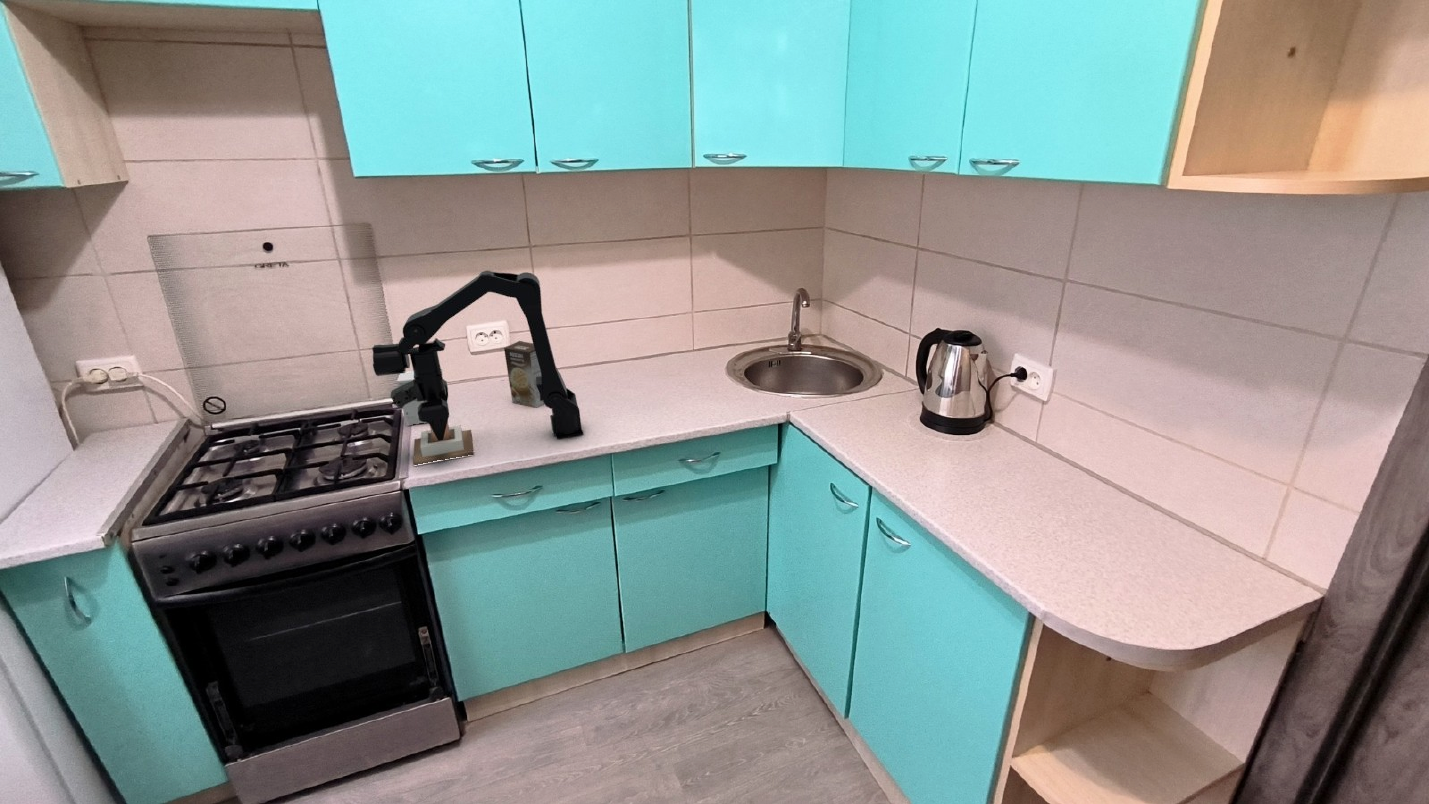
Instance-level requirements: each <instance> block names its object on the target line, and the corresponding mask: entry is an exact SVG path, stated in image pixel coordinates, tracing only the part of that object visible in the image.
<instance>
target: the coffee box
mask: <svg viewBox="0 0 1429 804" xmlns="http://www.w3.org/2000/svg"><path fill="white" fill-rule="evenodd" d="M503 350H504V357H505V362H506V369H507V376H508V382H509V389H510V394H511V402H512V403H515V404H519V405H523V406H527V407H532V408H539V407H541V406H543V405H545V404H544V402H543V400H542V401H540V393H539V391H538V389H537V386H536V377H539V376H541V371H540V367H539V363H538V359H537V356H536V352H535V348H534V344H533V342H527V341H522V340H519V341H516V342H514V343H510V344H509V345H507V346H505V347H503Z"/></svg>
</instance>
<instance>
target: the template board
mask: <svg viewBox="0 0 1429 804" xmlns="http://www.w3.org/2000/svg"><path fill="white" fill-rule="evenodd" d="M449 430H450V435H451V440H445V441H440V442H434V443H433V439H432V434H431V429H429V430H425V431H424V430H423V431H420V438H415V439H414V442H413V443H414V444H413V457H412V459H413V460H412V464H413V465H412V466H414V465H418V464H423V463H428V462H433V461H437V460H445V459H450V458H456V457H462V456H468V455H474V456H475V453H474V452H475V451H474V445H473V444H474V443H472V442H473V436H472V434H471V433H472V430H471V429H467V430H466V429H465V430H463V429H462V425H461V424H460V425H454V426H449ZM473 451H474V452H473Z"/></svg>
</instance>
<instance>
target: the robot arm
mask: <svg viewBox="0 0 1429 804" xmlns="http://www.w3.org/2000/svg"><path fill="white" fill-rule="evenodd" d="M488 293H492V294H493V293H494V294H497V295H500V296H505V297H507V298H515V299H516V301H517V303H518V305H519V307H520V310H521V311H522V313H523V314H524V317H525V319H526V321H527V325H528V329H529V330H528V331H529V333H530V337H531V340H532V343H533V344H534V348H535V352H536V356H537V359H538V363H539V367H540V371H541V376H539V377H536V386H537V389H538V391H539V393H540V401H542V400H543V402H544V404H543V405H544V406H545V407H546V408H548V409H551V415H549V416H550V426H551V430H552V434H553V435H555V437H556V440H557V439H558V440H560V439H565V438H566V439H567V438H571V437H576V436H581V435H584V430H583V428H582V421H581V414H580V413H581V412H580V408H579V406H578V405H579V404H578V400H577V396H576V395H577V394H576V393H574V392H573V391H572V390H570V389H569V388H568V387H567V385H566V383H565V381H564V379H563V377H562V375H561V373H560V370H558V368H557V365H556V362H555V358H554V355H553V351H552V345H551V343H550V339H549V334H548V331H547V327H546V324H545V320H544V319H545V318H544V315H543V307H542V292H541V283H540V280H539V278H538V277H537V275H535V274H533V273H532V272H529V271H528V272H526V271H525V272H522V273H519V274H518V273H511V272H496V271H492V270H484V271H481V272H480V273H479V274H478V276H476V277H475V278H473V279H471V280H470V281H468V283H466V284H465V285H463V286H461V287H460V288H459V289H457V290H456V291H454V292H453V293H452V294H450V295H448V296H447V297H446V298H445V299H443V300H441V301H440V302H439V303H437V304H435V305H433V306H429V307H427V308H424V309H421V310H419V311H417V312H415V313H412V314H411V315H410V316H409V317H408V318H407V320H406V321H405V323H404V325H403V327H402V335H403V336H402V337H401V338H400V340H399V341H398V343H392V344H390V343H389V344H374V346H373V347H372V349H371V351H372V362H373V363H372V367H373V371H374V374H375V376H376V377H381V376H382V377H383V376H393V375H400V374H401V373H405V372H406V369H411V368H410V366H412V371H414V379H413V381H411V382H408V383H406V384H404V385H402V386H400V387H398V386H397V387H396V388H394V389H392V390H391V391H390V399H391V400H392V404H393V405H395V406H396V407H397V408H398V409H401V408H403V407H404V405H406V404H408V403H410V402H412V401H414V400H415V399H417V401H418V402H419V401H424V403H421V404H420V405H419V407H418V417H419V421H422V422H426V423H425V424H429V427H430V426H431V428H432V430H433V432H434V434H435V436H436V437H437V439H438V441H441V440H443V438H444V434H445V430H446V426H447V422H448V423H449V417H450V409H449V404H448V399H449V387H448V381H447V380H445V379H444V378H443V369H442V368H441V363H440V358H439V353H438V352H443V351H444V350H445V348H446V343H445V342H443V341H440V340H439V339H438V338H437V337H435V338H434V340H433V341H431V342H429V341H430V340H431V339H432V337H434V335H436V334H437V332H438V331H439V330H440V329H441V328H442V327H443V326H444V325H445V324H446V322H447V321H449V320H451V319H452V318H454V316H456V315H457V314H459V313H460V312H462V311H463V310H465V309H466V308H468V307H469V306H471V305H472V304H473V303H474V302H475V303H476V301H478V300H479V299H480V298H482V297H483V296H485V295H486V294H488ZM415 346H416V347H415Z"/></svg>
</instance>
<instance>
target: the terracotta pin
mask: <svg viewBox="0 0 1429 804" xmlns="http://www.w3.org/2000/svg"><path fill="white" fill-rule="evenodd" d="M449 427H450V426H449V421H448V422H447V426H446V430H445V434H444V438H443V440H441V441H445V440H451V435H450V430H449ZM429 430H431V434H432V439H433V443H434V442H440V441H438V439H437V437H436V436H435V434H434V432H433V430H432V428H431V426H430V425H429Z"/></svg>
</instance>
